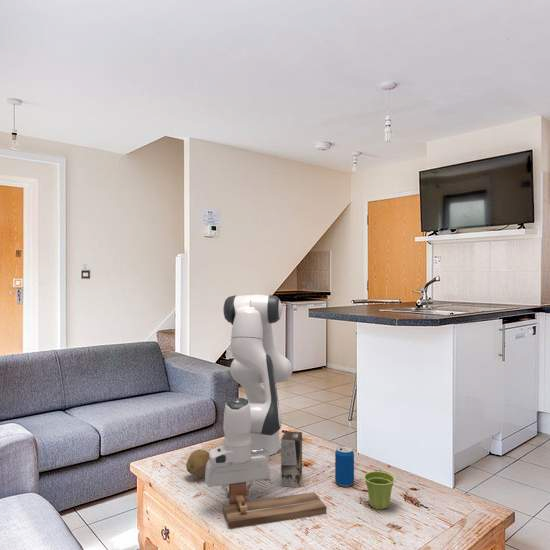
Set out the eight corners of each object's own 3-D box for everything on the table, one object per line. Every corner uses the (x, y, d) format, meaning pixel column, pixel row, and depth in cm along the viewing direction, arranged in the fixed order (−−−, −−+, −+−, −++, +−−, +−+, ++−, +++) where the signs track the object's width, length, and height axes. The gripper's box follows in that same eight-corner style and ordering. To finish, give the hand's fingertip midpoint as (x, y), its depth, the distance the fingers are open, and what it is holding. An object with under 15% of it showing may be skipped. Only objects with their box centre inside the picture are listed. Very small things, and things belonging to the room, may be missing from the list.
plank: (222, 511, 141) (222, 504, 141) (314, 498, 150) (314, 491, 150) (229, 528, 132) (229, 521, 132) (326, 513, 140) (326, 506, 140)
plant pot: (393, 515, 139) (393, 486, 139) (361, 509, 143) (361, 481, 143) (396, 500, 148) (396, 473, 148) (366, 496, 151) (366, 469, 151)
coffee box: (299, 487, 157) (298, 440, 157) (280, 486, 159) (280, 439, 159) (302, 476, 166) (302, 431, 166) (285, 474, 168) (285, 430, 168)
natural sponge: (188, 485, 160) (188, 456, 160) (184, 474, 168) (184, 447, 168) (214, 481, 162) (214, 452, 162) (209, 471, 171) (209, 444, 171)
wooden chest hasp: (228, 503, 145) (228, 478, 146) (244, 500, 147) (244, 476, 147) (236, 520, 135) (235, 494, 135) (252, 518, 136) (252, 491, 136)
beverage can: (340, 477, 165) (340, 444, 165) (357, 482, 161) (357, 448, 161) (332, 484, 160) (331, 449, 160) (348, 489, 156) (348, 454, 156)
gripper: (266, 444, 151) (266, 487, 151) (204, 451, 145) (204, 495, 145) (272, 451, 145) (272, 495, 145) (206, 459, 139) (207, 505, 139)
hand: (237, 495), depth 145 cm, fingers closed on wooden chest hasp, 5 cm apart
